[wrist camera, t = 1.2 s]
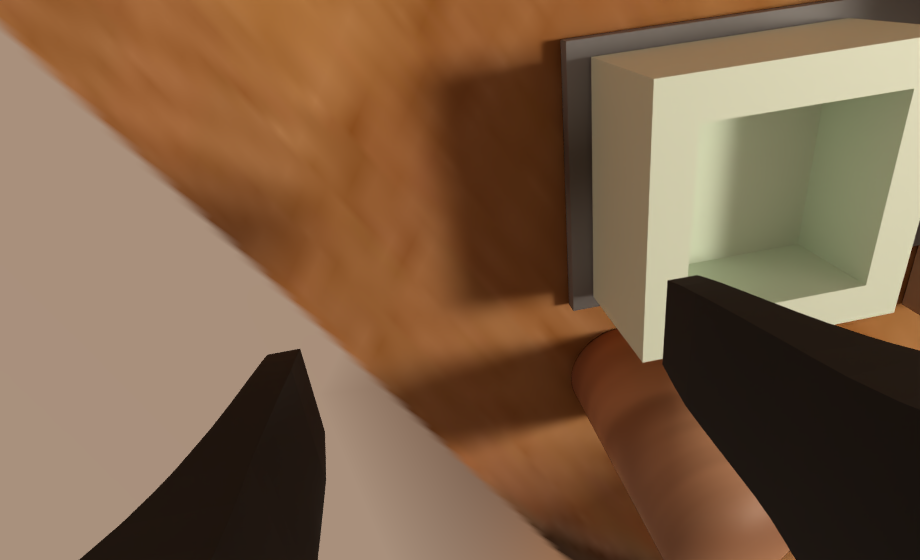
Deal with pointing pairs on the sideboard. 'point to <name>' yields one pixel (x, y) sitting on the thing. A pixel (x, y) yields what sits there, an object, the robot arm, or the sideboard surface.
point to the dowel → (669, 460)
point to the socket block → (757, 171)
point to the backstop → (882, 3)
